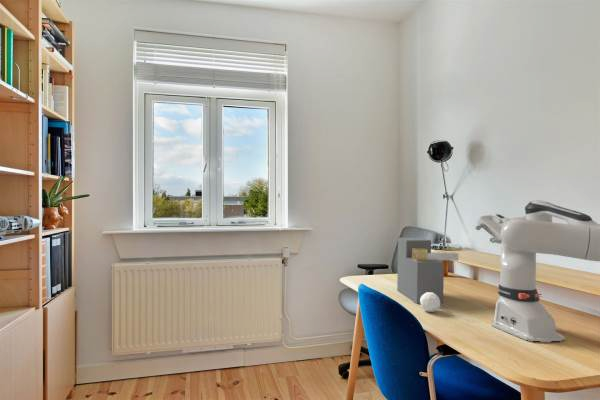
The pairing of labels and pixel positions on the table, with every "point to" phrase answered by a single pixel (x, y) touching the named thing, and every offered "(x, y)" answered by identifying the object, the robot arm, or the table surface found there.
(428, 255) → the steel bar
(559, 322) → the table surface
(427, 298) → the ball
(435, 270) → the grey tall stepped block
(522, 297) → the robot arm
